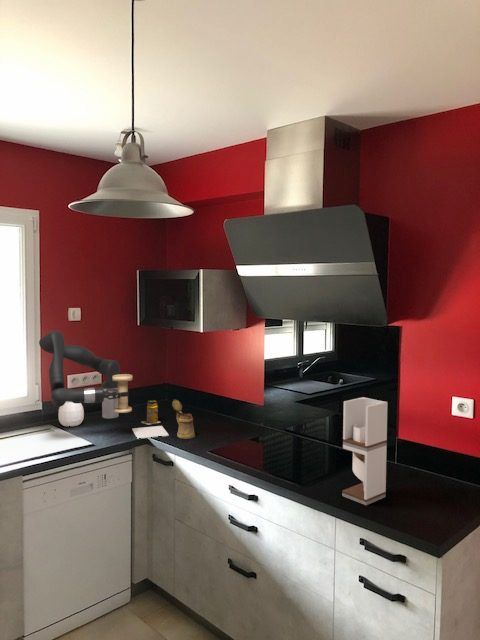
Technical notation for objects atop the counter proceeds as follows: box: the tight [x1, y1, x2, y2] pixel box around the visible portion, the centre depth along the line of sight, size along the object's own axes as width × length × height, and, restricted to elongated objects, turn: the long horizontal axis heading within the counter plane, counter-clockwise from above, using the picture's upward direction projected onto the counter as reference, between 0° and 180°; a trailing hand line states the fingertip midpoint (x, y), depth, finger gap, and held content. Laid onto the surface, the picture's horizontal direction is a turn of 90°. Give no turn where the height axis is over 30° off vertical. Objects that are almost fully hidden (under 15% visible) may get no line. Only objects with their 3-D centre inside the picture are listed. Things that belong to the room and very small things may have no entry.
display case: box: [341, 396, 388, 506], centre depth 190 cm, size 11×11×35 cm
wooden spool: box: [112, 373, 134, 414], centre depth 266 cm, size 10×10×18 cm
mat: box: [131, 425, 170, 440], centre depth 272 cm, size 18×16×1 cm
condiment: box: [141, 399, 160, 425], centre depth 292 cm, size 7×8×12 cm
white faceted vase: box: [58, 401, 85, 427], centre depth 286 cm, size 13×13×14 cm
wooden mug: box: [171, 398, 196, 440], centre depth 266 cm, size 9×14×18 cm, turn 49°
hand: (127, 392), depth 267 cm, fingers closed on wooden spool, 5 cm apart
